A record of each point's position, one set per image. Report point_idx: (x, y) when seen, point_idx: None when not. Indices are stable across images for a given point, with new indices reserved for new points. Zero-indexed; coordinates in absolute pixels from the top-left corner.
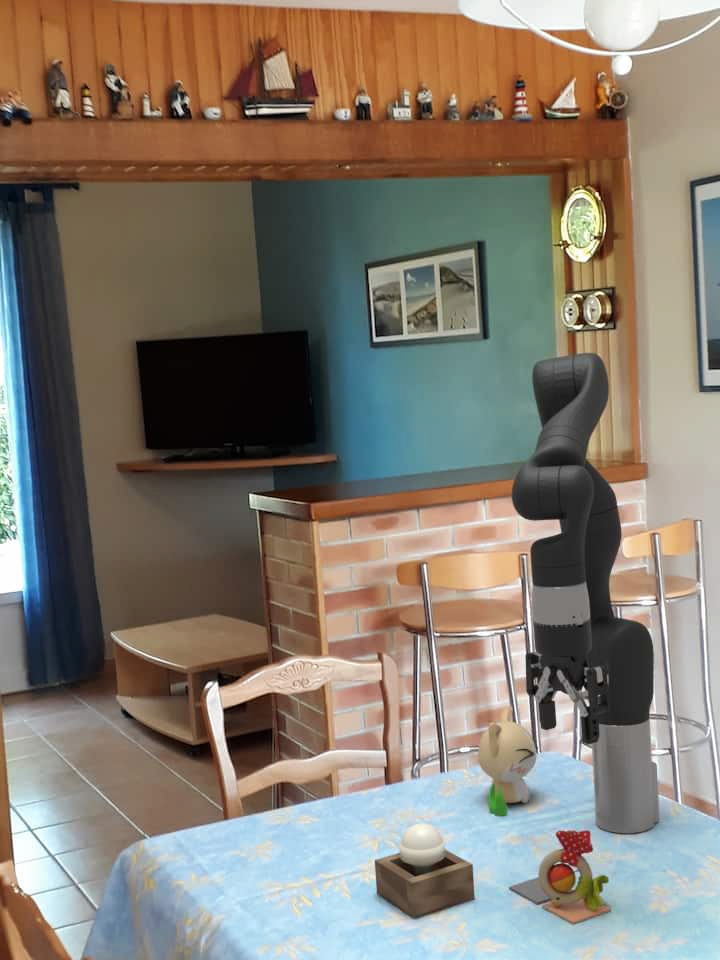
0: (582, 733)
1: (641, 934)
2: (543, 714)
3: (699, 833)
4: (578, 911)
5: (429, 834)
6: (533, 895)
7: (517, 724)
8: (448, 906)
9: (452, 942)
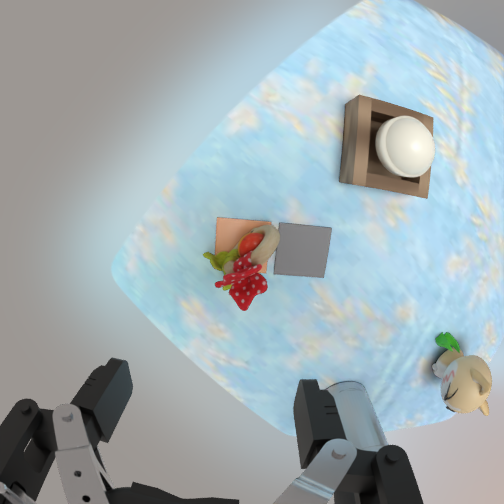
0: (110, 374)
1: (159, 252)
2: (307, 413)
3: (278, 420)
4: (232, 240)
5: (401, 141)
6: (296, 232)
7: (470, 410)
8: (342, 146)
9: (274, 95)
